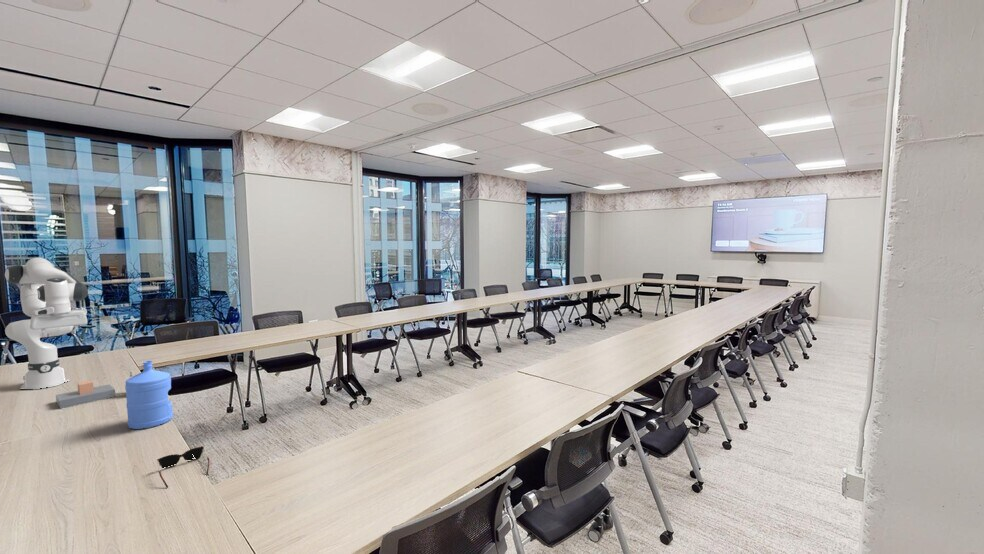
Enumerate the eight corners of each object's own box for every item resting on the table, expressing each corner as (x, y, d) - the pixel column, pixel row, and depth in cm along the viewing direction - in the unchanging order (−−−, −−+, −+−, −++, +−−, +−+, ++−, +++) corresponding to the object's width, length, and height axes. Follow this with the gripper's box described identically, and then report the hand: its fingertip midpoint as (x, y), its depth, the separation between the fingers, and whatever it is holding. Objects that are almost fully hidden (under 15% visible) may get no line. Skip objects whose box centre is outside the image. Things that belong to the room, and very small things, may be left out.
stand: (56, 402, 203) (55, 395, 202) (109, 391, 219) (109, 384, 218) (60, 408, 195) (59, 400, 195) (115, 396, 211) (114, 389, 211)
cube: (78, 392, 206) (77, 383, 206) (91, 389, 210) (90, 380, 210) (79, 394, 203) (79, 385, 203) (93, 391, 207) (92, 382, 207)
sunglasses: (204, 457, 151) (204, 445, 150) (212, 477, 139) (212, 464, 139) (157, 471, 141) (156, 458, 141) (161, 494, 130) (161, 480, 129)
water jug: (147, 431, 171) (143, 368, 169) (118, 428, 174) (114, 365, 172) (181, 416, 186) (178, 358, 184) (154, 413, 190) (151, 356, 188)
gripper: (85, 306, 218) (87, 331, 219) (28, 311, 201) (30, 338, 202) (87, 307, 214) (89, 332, 215) (29, 312, 197) (32, 339, 198)
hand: (60, 335), depth 208 cm, fingers open, 8 cm apart
